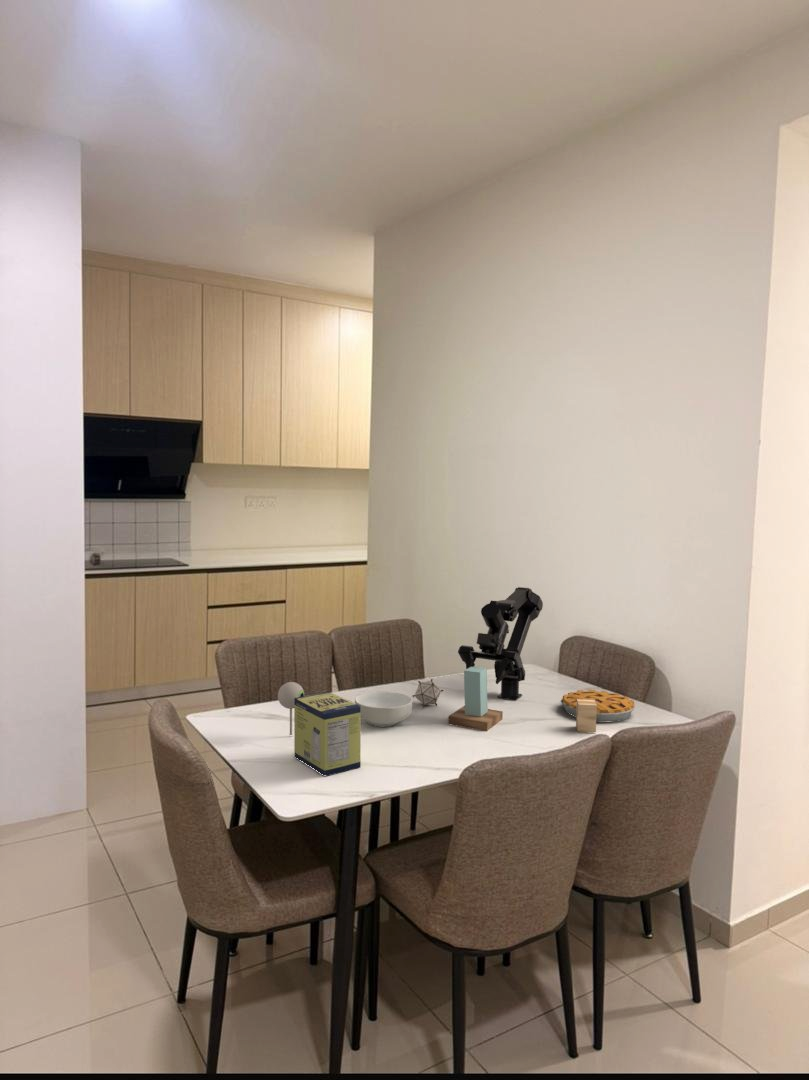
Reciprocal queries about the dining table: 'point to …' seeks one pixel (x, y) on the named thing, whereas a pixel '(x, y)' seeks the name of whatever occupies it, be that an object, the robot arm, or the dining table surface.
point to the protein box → (327, 732)
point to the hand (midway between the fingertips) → (481, 681)
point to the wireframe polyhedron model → (427, 693)
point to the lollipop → (289, 697)
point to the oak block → (586, 715)
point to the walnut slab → (475, 719)
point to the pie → (601, 704)
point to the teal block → (475, 691)
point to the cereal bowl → (384, 707)
